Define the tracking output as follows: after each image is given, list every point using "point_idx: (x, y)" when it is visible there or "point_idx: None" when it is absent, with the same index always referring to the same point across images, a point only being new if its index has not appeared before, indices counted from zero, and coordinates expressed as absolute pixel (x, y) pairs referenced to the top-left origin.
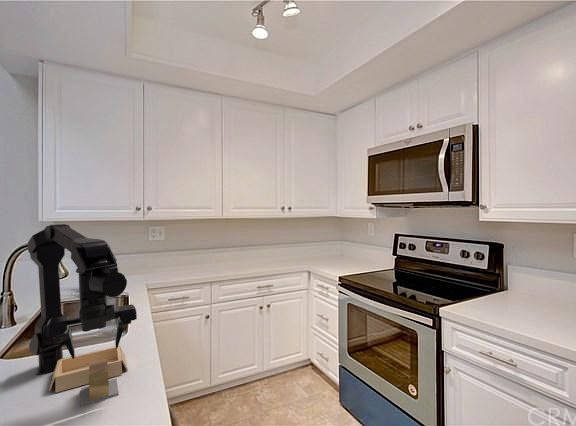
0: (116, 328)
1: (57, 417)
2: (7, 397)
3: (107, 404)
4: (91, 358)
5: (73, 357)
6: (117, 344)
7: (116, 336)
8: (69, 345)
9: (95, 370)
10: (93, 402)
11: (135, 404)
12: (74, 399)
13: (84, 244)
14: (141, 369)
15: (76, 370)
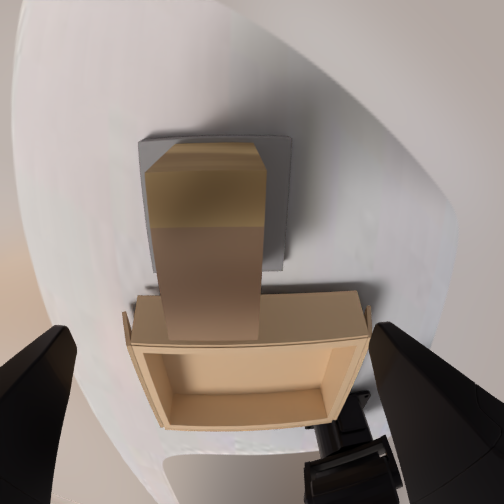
0: (40, 486)
1: (360, 130)
2: (432, 330)
3: (185, 104)
4: (246, 411)
5: (386, 326)
6: (38, 344)
7: (8, 404)
8: (472, 400)
9: (225, 232)
10: (239, 136)
11: (89, 52)
12: (304, 223)
13: None
14: (84, 301)
15: (286, 384)
